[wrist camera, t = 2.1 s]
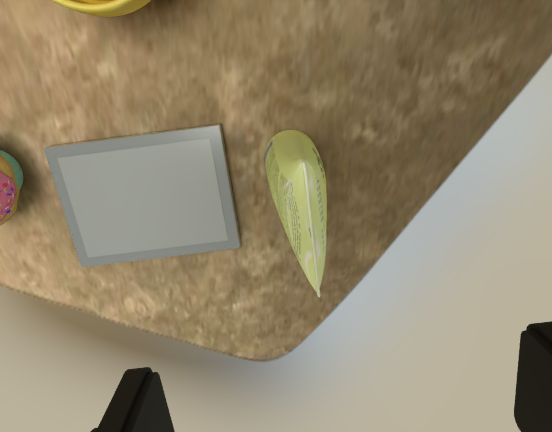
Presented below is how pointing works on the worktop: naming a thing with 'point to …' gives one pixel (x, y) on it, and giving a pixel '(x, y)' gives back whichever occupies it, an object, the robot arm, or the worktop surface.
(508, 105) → the worktop surface
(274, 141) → the tube
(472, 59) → the worktop surface
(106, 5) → the plant pot
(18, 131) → the worktop surface
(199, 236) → the grey flat block
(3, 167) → the cupcake
